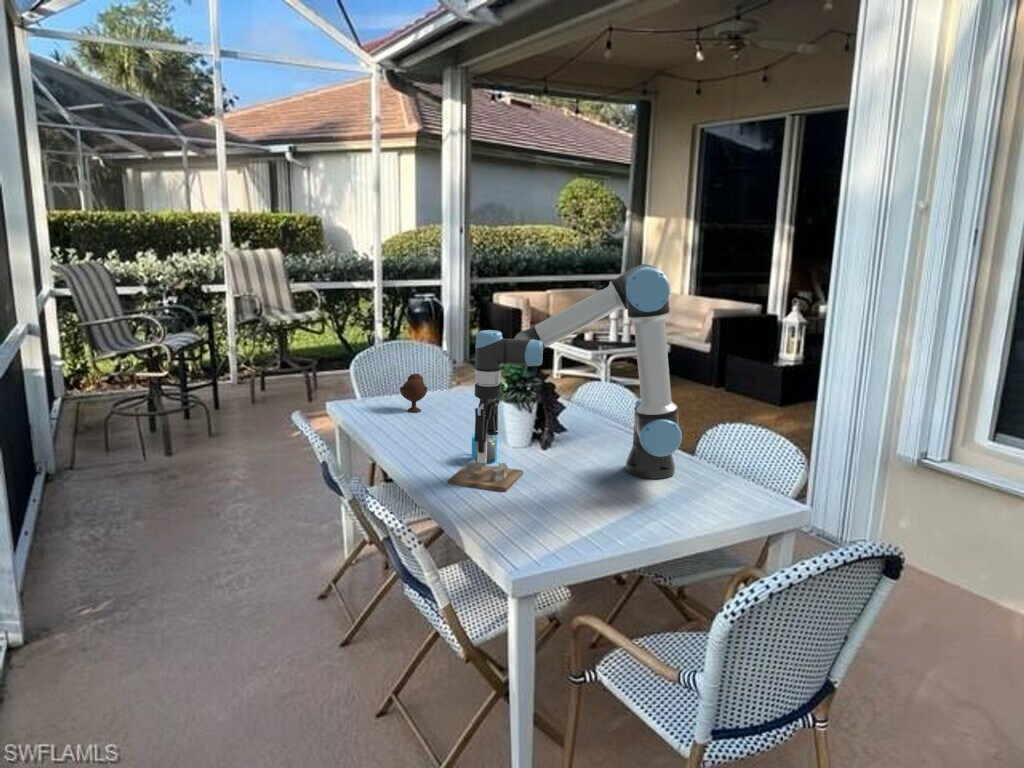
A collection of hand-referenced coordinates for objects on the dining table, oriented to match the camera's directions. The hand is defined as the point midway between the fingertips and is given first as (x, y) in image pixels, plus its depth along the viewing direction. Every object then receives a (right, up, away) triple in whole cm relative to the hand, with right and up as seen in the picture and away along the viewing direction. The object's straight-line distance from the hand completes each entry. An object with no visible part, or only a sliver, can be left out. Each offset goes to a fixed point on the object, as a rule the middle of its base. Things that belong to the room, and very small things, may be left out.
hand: (485, 458), depth 223 cm
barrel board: (0, -6, +1) cm, 6 cm away
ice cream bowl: (-31, +11, +75) cm, 82 cm away
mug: (-2, -2, +20) cm, 20 cm away
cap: (0, 0, 0) cm, 0 cm away
